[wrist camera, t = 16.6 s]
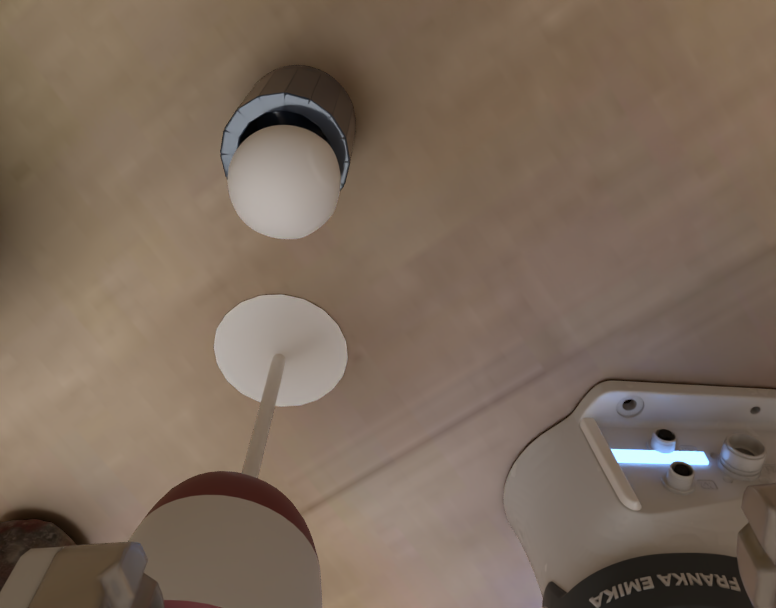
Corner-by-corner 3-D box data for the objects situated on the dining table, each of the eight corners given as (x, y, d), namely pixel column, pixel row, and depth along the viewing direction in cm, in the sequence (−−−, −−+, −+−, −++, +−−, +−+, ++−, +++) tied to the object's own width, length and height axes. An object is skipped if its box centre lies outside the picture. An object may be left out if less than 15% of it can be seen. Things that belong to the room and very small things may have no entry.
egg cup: (346, 57, 37) (337, 84, 32) (363, 167, 40) (358, 209, 35) (233, 72, 37) (206, 103, 32) (258, 181, 40) (237, 224, 35)
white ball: (288, 211, 36) (277, 278, 33) (214, 144, 34) (193, 210, 30) (365, 156, 34) (362, 222, 31) (291, 80, 32) (279, 142, 28)
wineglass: (238, 424, 48) (132, 775, 29) (187, 299, 44) (22, 618, 25) (367, 402, 47) (345, 750, 28) (329, 271, 43) (272, 582, 24)
